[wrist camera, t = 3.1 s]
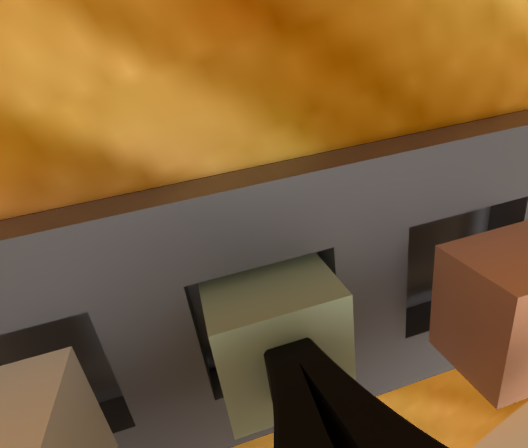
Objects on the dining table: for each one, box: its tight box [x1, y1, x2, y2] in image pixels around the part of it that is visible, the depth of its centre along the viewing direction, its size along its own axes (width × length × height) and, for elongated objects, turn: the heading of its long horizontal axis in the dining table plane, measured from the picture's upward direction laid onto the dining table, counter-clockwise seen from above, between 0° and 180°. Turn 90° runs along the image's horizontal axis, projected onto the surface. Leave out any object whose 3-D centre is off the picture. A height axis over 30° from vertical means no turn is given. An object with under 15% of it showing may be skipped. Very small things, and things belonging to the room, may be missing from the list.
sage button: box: [198, 252, 356, 440], centre depth 12 cm, size 4×4×3 cm
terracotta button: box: [429, 220, 528, 409], centre depth 12 cm, size 4×4×3 cm
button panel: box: [0, 110, 528, 448], centre depth 13 cm, size 10×24×2 cm, turn 98°
